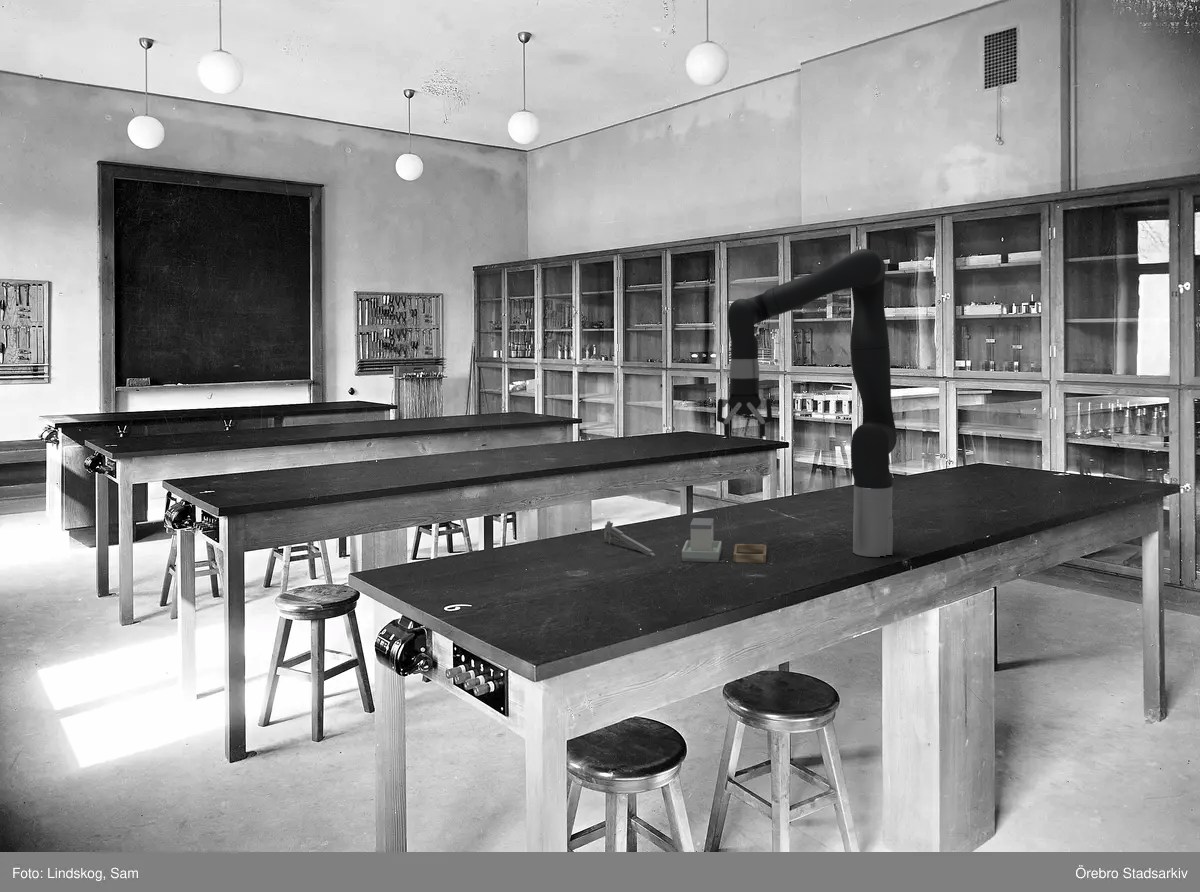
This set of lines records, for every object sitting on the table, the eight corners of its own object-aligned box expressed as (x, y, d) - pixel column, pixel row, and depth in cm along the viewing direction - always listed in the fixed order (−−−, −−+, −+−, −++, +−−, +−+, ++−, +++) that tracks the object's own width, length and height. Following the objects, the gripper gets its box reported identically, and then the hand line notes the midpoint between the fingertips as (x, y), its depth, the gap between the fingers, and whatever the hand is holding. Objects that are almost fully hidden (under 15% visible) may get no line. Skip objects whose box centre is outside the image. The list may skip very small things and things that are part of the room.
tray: (721, 550, 236) (721, 541, 236) (718, 562, 224) (718, 552, 224) (686, 549, 238) (686, 540, 237) (681, 561, 226) (681, 551, 226)
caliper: (604, 543, 248) (603, 520, 247) (607, 542, 249) (606, 520, 248) (652, 557, 232) (652, 533, 231) (655, 556, 232) (655, 532, 232)
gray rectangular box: (713, 549, 234) (713, 518, 233) (711, 557, 226) (711, 525, 225) (693, 548, 235) (693, 518, 234) (690, 556, 227) (690, 524, 226)
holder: (766, 552, 233) (766, 544, 233) (765, 563, 223) (765, 555, 222) (735, 551, 235) (735, 543, 234) (733, 562, 224) (733, 554, 224)
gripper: (772, 375, 241) (772, 436, 243) (717, 375, 244) (718, 436, 246) (772, 376, 234) (771, 440, 236) (716, 377, 236) (716, 439, 238)
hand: (744, 438), depth 241 cm, fingers open, 8 cm apart
